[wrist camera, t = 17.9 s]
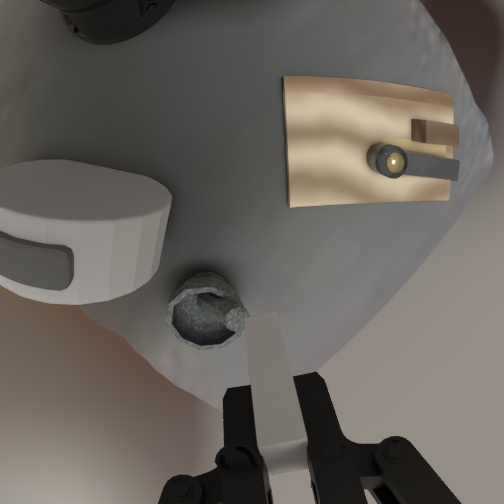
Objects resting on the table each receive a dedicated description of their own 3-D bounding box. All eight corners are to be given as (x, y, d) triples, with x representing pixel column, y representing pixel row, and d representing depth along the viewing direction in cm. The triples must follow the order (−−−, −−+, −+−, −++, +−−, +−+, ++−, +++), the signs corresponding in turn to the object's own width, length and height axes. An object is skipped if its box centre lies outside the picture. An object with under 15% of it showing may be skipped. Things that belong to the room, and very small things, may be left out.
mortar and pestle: (207, 329, 45) (203, 388, 34) (160, 290, 42) (142, 346, 31) (263, 285, 42) (276, 341, 32) (216, 239, 39) (213, 288, 28)
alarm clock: (35, 206, 35) (-57, 269, 17) (39, 154, 32) (-65, 194, 14) (170, 239, 39) (131, 341, 21) (183, 184, 36) (141, 252, 18)
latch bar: (365, 172, 35) (379, 178, 32) (367, 141, 34) (382, 144, 30) (441, 179, 36) (458, 186, 33) (444, 152, 35) (462, 157, 31)
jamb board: (281, 77, 31) (289, 71, 27) (447, 95, 32) (468, 95, 28) (288, 204, 38) (296, 216, 34) (444, 198, 39) (462, 207, 35)
